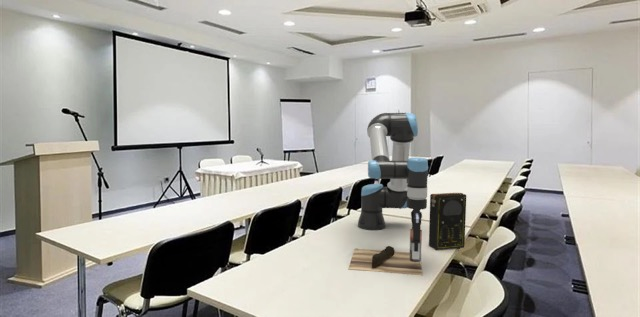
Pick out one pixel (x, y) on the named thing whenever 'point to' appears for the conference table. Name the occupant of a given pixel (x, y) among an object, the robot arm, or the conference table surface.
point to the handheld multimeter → (447, 220)
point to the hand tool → (382, 256)
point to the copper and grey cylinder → (411, 246)
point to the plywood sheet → (385, 263)
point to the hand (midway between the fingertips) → (415, 256)
